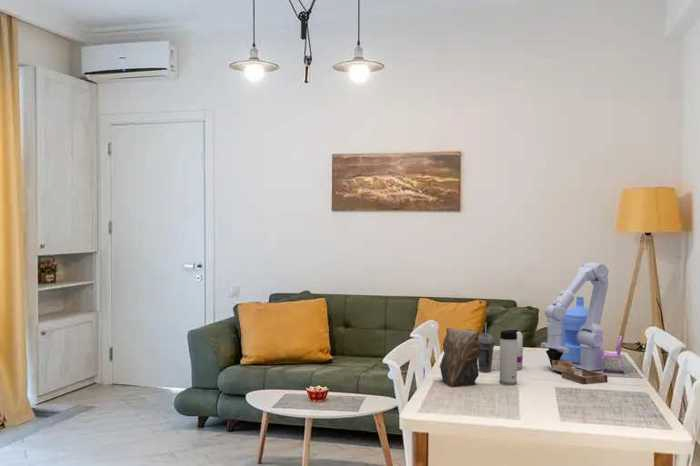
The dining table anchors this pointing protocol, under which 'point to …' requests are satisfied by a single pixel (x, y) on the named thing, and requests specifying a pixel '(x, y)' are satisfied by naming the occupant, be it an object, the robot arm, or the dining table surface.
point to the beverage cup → (485, 351)
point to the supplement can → (519, 350)
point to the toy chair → (614, 355)
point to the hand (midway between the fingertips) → (554, 368)
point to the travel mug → (508, 357)
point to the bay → (588, 379)
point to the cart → (563, 366)
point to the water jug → (573, 330)
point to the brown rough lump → (460, 357)
